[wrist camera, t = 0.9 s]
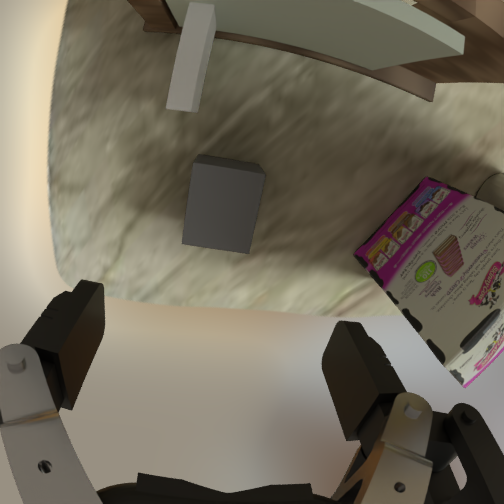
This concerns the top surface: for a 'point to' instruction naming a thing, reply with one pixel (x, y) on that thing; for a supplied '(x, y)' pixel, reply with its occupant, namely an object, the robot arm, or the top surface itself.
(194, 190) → the block
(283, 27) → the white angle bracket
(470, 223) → the candy bar box
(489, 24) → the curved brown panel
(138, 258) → the top surface
